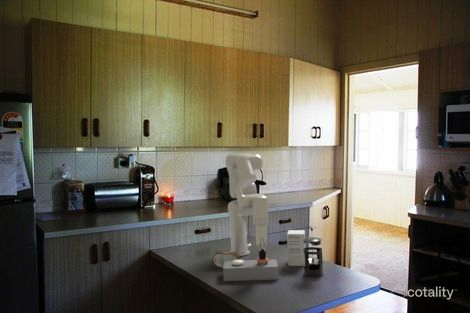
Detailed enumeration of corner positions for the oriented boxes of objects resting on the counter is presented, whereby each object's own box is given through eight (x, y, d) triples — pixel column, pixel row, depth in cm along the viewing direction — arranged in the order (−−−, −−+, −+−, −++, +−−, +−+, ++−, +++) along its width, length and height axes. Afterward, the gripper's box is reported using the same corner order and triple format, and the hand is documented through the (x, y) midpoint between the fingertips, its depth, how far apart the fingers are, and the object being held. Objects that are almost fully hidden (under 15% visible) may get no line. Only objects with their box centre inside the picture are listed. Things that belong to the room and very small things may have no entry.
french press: (314, 278, 181) (312, 229, 180) (298, 274, 188) (297, 227, 188) (329, 272, 189) (327, 225, 188) (313, 268, 196) (312, 223, 195)
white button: (232, 273, 187) (232, 263, 186) (232, 270, 192) (232, 259, 192) (244, 273, 186) (243, 262, 186) (244, 269, 192) (243, 259, 192)
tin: (241, 267, 204) (240, 251, 203) (239, 269, 201) (238, 253, 200) (214, 265, 208) (213, 250, 208) (212, 267, 205) (211, 251, 205)
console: (223, 281, 184) (223, 268, 183) (225, 272, 196) (224, 261, 195) (278, 279, 183) (278, 266, 182) (276, 271, 195) (276, 259, 194)
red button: (257, 271, 186) (256, 260, 186) (257, 267, 192) (256, 257, 192) (269, 271, 186) (268, 260, 186) (268, 267, 191) (268, 257, 191)
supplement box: (289, 260, 212) (287, 229, 211) (306, 260, 210) (305, 229, 210) (288, 265, 202) (286, 233, 202) (305, 266, 201) (304, 233, 200)
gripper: (252, 219, 196) (254, 255, 196) (253, 224, 181) (255, 263, 181) (267, 218, 196) (269, 254, 196) (269, 224, 181) (271, 263, 181)
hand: (262, 258), depth 189 cm, fingers closed
